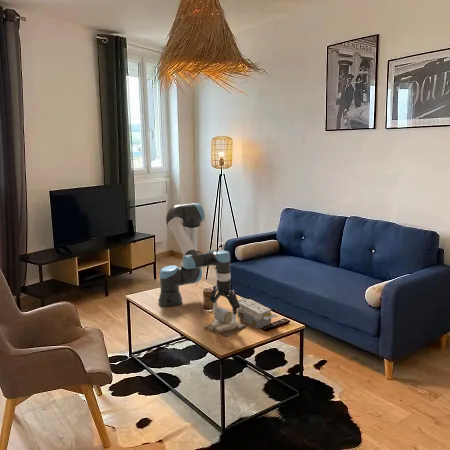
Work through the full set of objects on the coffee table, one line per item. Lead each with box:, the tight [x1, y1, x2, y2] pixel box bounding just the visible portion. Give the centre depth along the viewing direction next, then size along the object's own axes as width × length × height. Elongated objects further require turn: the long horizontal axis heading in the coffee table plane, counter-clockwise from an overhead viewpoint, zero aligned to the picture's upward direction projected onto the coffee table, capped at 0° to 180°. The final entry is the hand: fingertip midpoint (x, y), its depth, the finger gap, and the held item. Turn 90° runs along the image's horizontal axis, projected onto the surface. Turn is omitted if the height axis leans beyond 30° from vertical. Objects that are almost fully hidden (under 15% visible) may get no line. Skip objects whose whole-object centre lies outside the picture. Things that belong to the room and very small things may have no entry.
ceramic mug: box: [213, 306, 232, 324], centre depth 248 cm, size 11×8×8 cm
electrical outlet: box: [237, 298, 278, 329], centre depth 255 cm, size 12×28×10 cm, turn 39°
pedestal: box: [203, 318, 246, 338], centre depth 248 cm, size 16×16×4 cm
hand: (224, 316), depth 247 cm, fingers open, 13 cm apart
